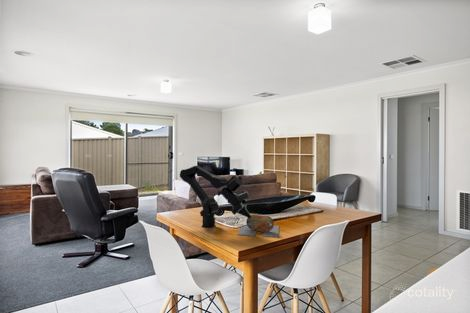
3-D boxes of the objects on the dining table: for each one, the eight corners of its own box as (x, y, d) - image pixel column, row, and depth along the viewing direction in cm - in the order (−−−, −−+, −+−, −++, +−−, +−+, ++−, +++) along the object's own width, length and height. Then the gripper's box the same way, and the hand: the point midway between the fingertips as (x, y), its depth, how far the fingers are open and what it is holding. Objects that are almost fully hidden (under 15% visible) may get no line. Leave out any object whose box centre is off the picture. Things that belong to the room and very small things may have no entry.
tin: (246, 229, 153) (246, 214, 153) (248, 228, 156) (248, 213, 156) (272, 233, 147) (273, 217, 147) (274, 231, 149) (274, 215, 150)
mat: (237, 235, 145) (237, 234, 145) (242, 224, 164) (242, 224, 164) (278, 237, 141) (278, 236, 141) (279, 226, 161) (279, 225, 161)
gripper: (238, 188, 143) (259, 211, 141) (243, 184, 161) (262, 204, 160) (222, 203, 145) (244, 225, 143) (229, 197, 163) (248, 217, 161)
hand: (250, 217), depth 152 cm, fingers closed
